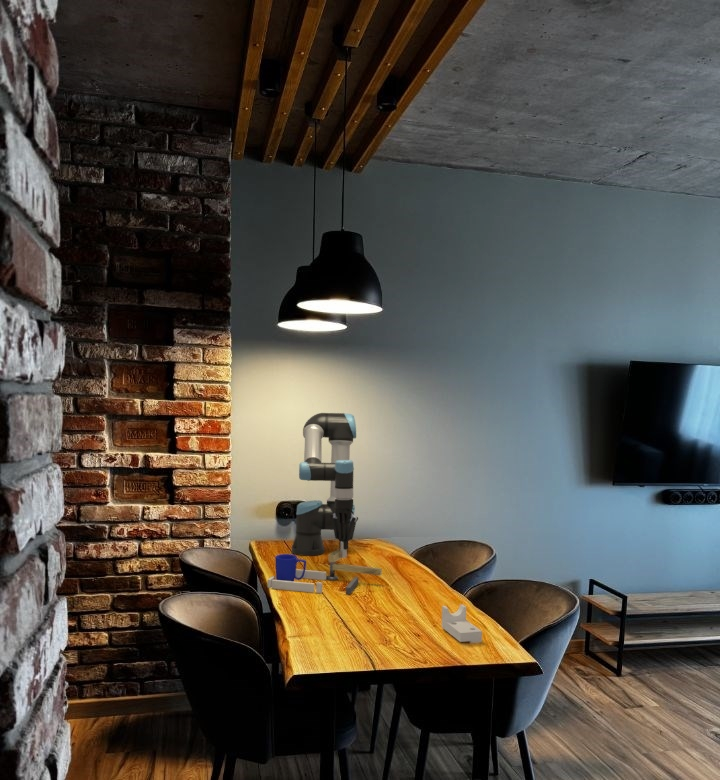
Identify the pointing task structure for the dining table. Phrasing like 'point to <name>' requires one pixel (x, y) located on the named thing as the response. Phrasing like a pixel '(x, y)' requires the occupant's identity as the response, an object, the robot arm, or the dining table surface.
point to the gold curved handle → (349, 566)
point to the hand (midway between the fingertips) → (343, 557)
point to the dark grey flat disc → (332, 578)
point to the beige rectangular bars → (299, 585)
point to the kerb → (352, 585)
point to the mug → (287, 567)
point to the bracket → (460, 625)
